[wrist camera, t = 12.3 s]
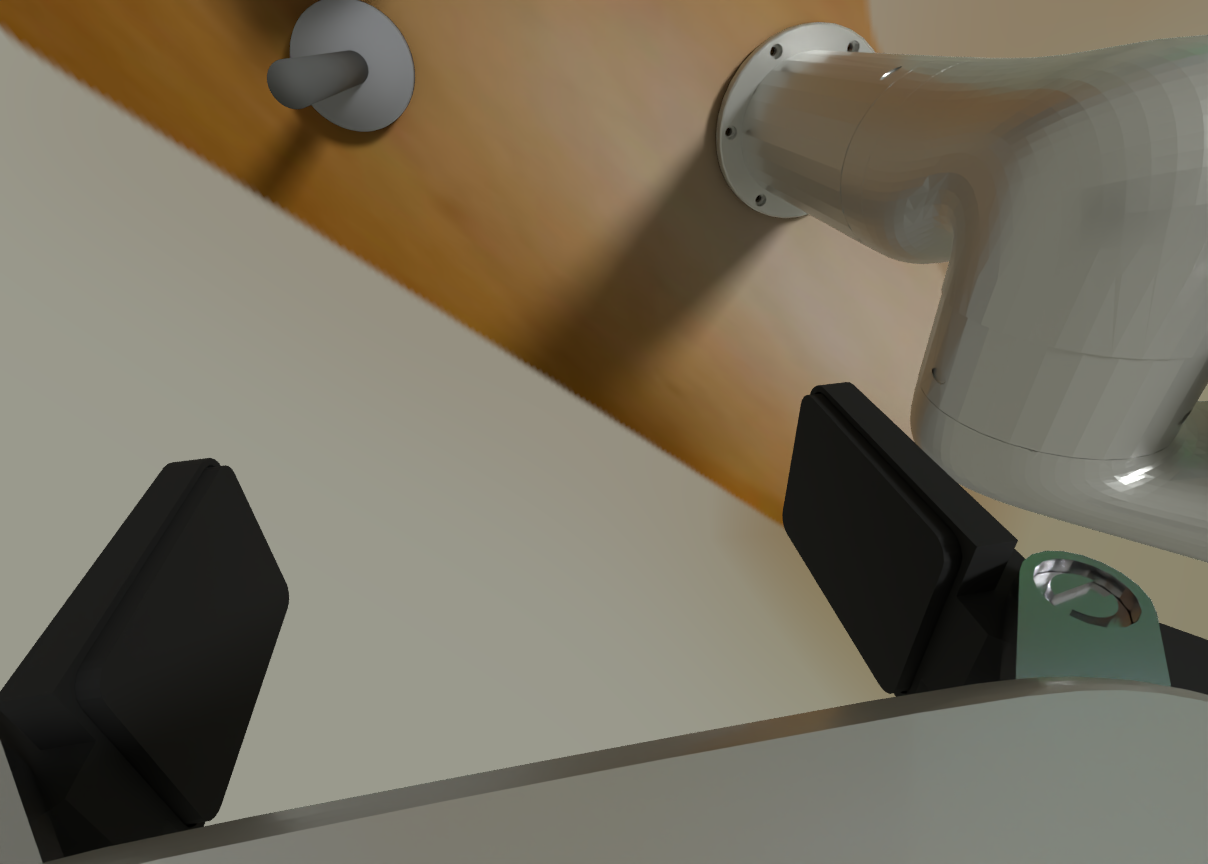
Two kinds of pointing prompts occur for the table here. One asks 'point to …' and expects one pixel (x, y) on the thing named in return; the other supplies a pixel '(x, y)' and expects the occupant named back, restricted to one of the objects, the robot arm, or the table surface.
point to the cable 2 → (346, 66)
